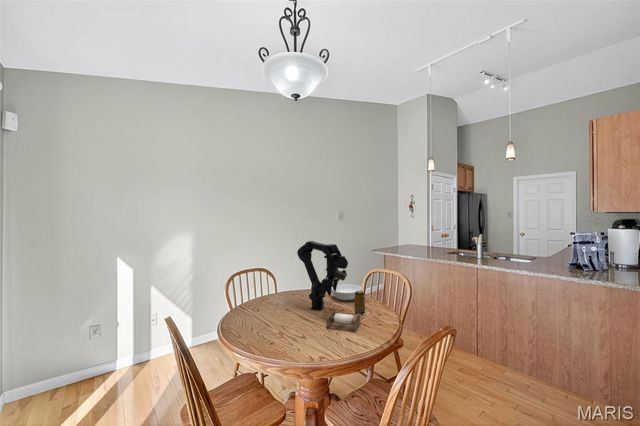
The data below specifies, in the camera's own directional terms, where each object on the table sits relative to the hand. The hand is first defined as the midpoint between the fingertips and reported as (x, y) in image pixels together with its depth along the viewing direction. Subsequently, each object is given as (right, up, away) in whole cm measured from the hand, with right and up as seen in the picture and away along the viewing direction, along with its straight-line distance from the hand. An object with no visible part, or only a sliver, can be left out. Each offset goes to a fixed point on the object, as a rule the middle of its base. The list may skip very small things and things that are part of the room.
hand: (332, 293), depth 174 cm
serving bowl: (+11, -11, +28) cm, 32 cm away
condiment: (+17, -12, +1) cm, 20 cm away
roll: (+5, -9, -18) cm, 20 cm away
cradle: (+5, -12, -18) cm, 22 cm away
